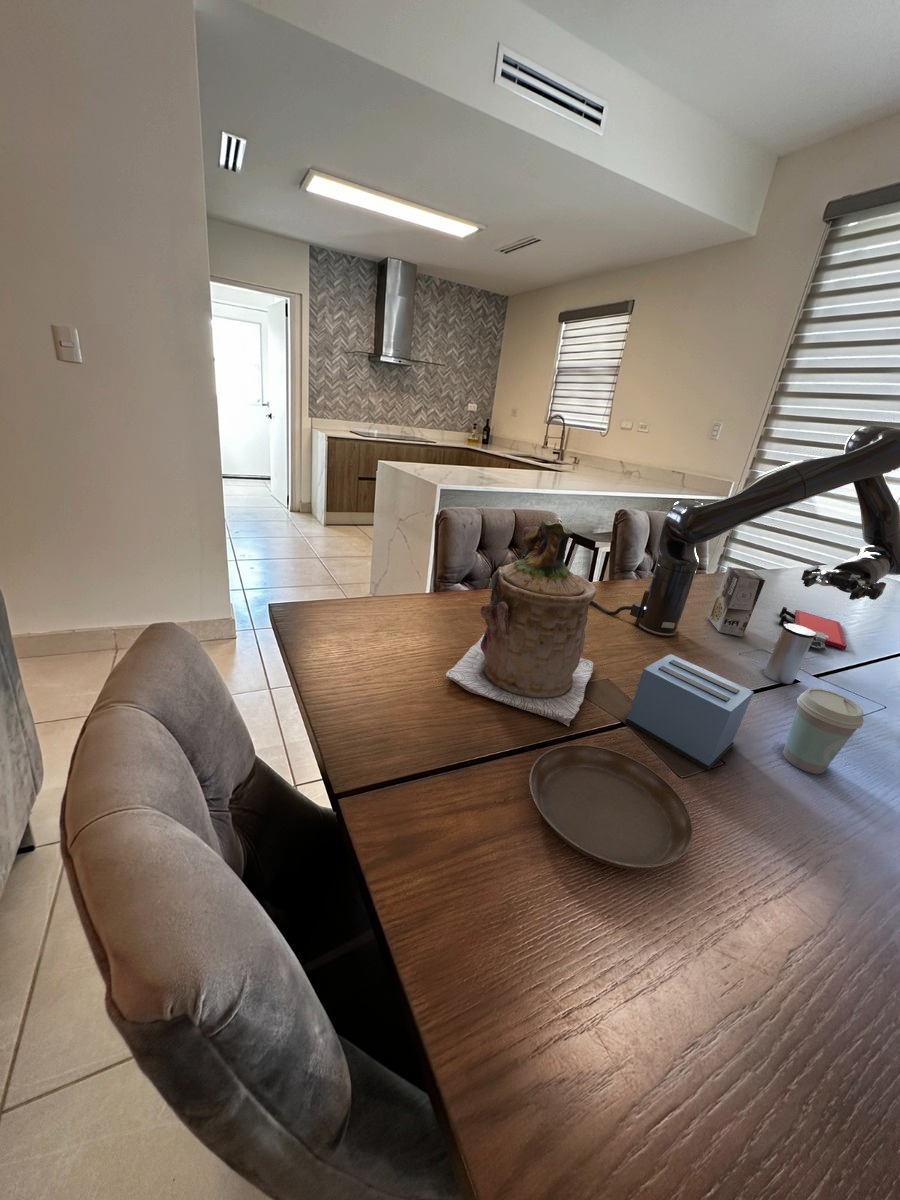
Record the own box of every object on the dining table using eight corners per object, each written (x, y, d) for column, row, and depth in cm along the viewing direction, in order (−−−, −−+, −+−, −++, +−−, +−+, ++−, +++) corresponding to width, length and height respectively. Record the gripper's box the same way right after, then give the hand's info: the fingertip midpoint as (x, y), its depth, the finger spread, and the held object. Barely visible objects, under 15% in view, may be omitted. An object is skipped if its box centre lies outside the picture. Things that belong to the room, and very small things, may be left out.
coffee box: (743, 637, 124) (766, 580, 118) (718, 632, 125) (739, 575, 119) (732, 623, 133) (752, 569, 126) (707, 619, 133) (727, 565, 127)
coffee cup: (817, 786, 73) (851, 723, 68) (763, 750, 80) (790, 691, 75) (844, 772, 77) (878, 711, 72) (790, 739, 84) (818, 682, 79)
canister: (759, 674, 105) (780, 626, 101) (768, 667, 109) (788, 621, 105) (789, 687, 102) (811, 638, 97) (796, 679, 105) (818, 632, 101)
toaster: (624, 721, 83) (641, 667, 79) (655, 701, 90) (672, 650, 86) (707, 771, 73) (732, 712, 69) (734, 744, 81) (758, 689, 76)
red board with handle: (777, 639, 125) (846, 661, 117) (782, 629, 124) (851, 651, 116) (779, 609, 148) (837, 626, 141) (783, 601, 147) (841, 618, 140)
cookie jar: (595, 669, 99) (635, 520, 87) (572, 732, 78) (620, 549, 66) (486, 635, 108) (509, 496, 96) (439, 685, 87) (461, 514, 75)
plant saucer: (522, 749, 73) (526, 732, 72) (657, 771, 72) (663, 754, 71) (529, 869, 54) (534, 849, 53) (712, 902, 53) (722, 881, 52)
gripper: (828, 550, 115) (798, 563, 107) (902, 567, 105) (875, 583, 96) (818, 579, 118) (788, 593, 110) (889, 598, 108) (862, 616, 99)
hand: (829, 588), depth 103 cm, fingers open, 8 cm apart
